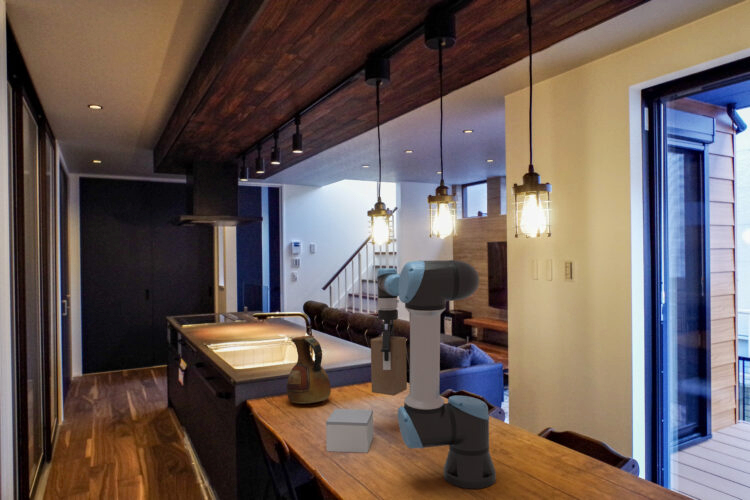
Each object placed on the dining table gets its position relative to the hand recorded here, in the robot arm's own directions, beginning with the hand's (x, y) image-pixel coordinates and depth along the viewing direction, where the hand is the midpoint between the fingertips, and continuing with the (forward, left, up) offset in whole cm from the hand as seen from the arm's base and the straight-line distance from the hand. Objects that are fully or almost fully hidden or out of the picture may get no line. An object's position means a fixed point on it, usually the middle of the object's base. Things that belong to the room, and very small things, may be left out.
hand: (388, 365), depth 191 cm
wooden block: (0, 0, -10) cm, 10 cm away
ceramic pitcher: (+31, +40, -24) cm, 56 cm away
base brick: (-16, +12, -24) cm, 31 cm away
